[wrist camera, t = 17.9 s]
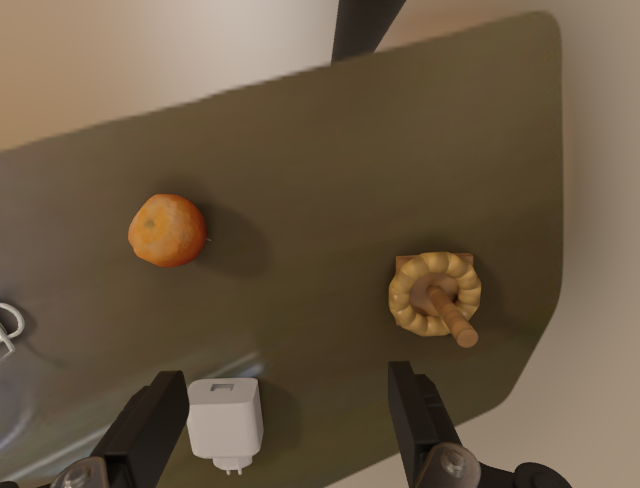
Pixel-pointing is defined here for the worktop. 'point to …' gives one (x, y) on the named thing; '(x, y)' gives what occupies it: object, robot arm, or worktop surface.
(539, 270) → the worktop surface
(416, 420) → the robot arm
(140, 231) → the fruit
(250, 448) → the charger
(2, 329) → the wall mount rack
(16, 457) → the worktop surface
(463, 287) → the ring
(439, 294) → the wooden peg stand
